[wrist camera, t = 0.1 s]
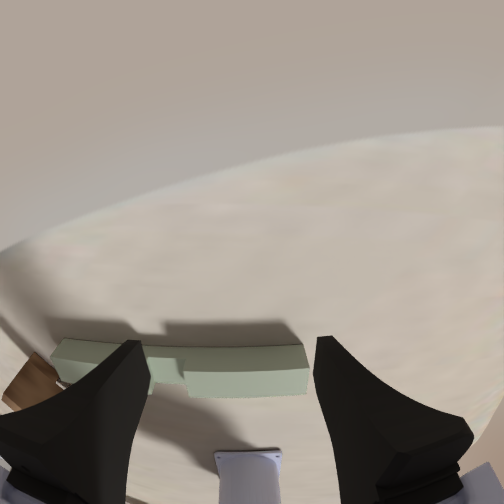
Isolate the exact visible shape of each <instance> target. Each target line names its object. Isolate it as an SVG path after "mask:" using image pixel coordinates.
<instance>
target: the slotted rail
mask: <svg viewBox="0 0 504 504" xmlns="http://www.w3.org/2000/svg"><path fill="white" fill-rule="evenodd" d="M121 345H122V344H115V343H103V342H93V341H83V340H75V339H67V338H64V339H63V340H62V342H61V343H60V344H59V345H58V347H57V348H56V349H55V351H54V352H53V353H52V355H51V356H50V358H51V360H52V362H53V364H54V367H55V369H56V371H57V373H58V375H59V377H60V379H61V381H63V382H67V383H72V384H74V383H76V382H77V381H78V380H80V379H81V378H82V377H84V376H85V375H86V374H87V373H89V372H90V371H91V370H93V369H94V368H95V367H96V366H98V365H99V364H100V363H101V362H102V361H103V360H105V359H106V358H107V357H108V356H109V355H110V354H111V353H113V352H114V351H115V350H116V349H117V348H118V347H119V346H121ZM142 347H143V351H144V354H145V358H146V361H147V364H148V368H149V371H150V374H151V380H150V386H149V391H148V394H149V395H152V392H153V389H154V386H155V383H166V384H185V385H186V387H187V391H188V395H189V397H195V398H258V397H278V396H293V395H304V394H306V391H307V384H308V377H309V370H310V367H309V364H308V360H307V356H306V353H305V349H304V345H303V344H300V345H283V346H262V347H165V346H144V345H142Z"/></svg>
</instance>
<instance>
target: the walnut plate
mask: <svg viewBox="0 0 504 504" xmlns="http://www.w3.org/2000/svg"><path fill="white" fill-rule="evenodd" d="M58 378H59V375H58V373H57V371H56V370H55V369H54V368H52V367H51V366H50V365H49V364H48V363H47V362H45V361H44V360H43V359H42V358H41V357H40V356H39V355H37V354H36V353H35V352H34V353H33V354H32V356H31V357H30V358H29V360H28V361H27V362H26V363H25V365H24V366H23V367H22V369H21V370H20V371H19V372H18V374H17V375H16V376H15V378H14V379H13V381H12V382H11V383H10V385H9V386H8V387H7V389H6V390H5V392H4V393H3V396H2V401H3V402H4V403H5V404H7V405H8V406H9V407H10V408H11V409H12V410H14V411H19V410H22V409H25V408H28V407H30V406H33V405H35V404H38V403H40V402H42V401H44V400H46V399H48V398H50V397H52V396H54V395H56V394H58V393H60V392H62V391H63V389H62V388H61V387H59V386H58V385H57V384H56V381H57V380H58Z"/></svg>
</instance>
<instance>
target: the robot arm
mask: <svg viewBox="0 0 504 504" xmlns="http://www.w3.org/2000/svg"><path fill="white" fill-rule="evenodd" d="M313 377H314V383H315V388H316V393H317V397H318V400H319V403H320V406H321V409H322V413H323V416H324V419H325V422H326V425H327V428H328V431H329V434H330V438H331V442H332V446H333V451H334V457H335V462H336V469H337V475H338V482H339V490H340V499H341V504H504V489H503V487H502V485H501V483H500V482H499V480H498V478H497V476H496V474H495V472H494V470H493V468H492V467H491V465H490V463H489V462H486V463H484V464H482V465H480V466H479V467H477V468H475V469H473V470H471V471H470V472H468V473H466V474H465V475H463V476H462V477H460V478H459V476H458V473H457V472H458V471H459V470H460V467H459V465H458V463H457V461H459V459H460V458H461V457H462V456H463V455H464V454H465V452H466V451H467V450H468V449H469V447H470V446H471V444H472V442H473V440H474V434H473V433H472V431H471V429H470V428H469V426H468V424H467V423H466V421H465V420H464V418H463V417H459V416H455V415H452V414H448V413H445V412H441V411H438V410H436V409H433V408H431V407H428V406H426V405H423V404H421V403H419V402H417V401H415V400H413V399H411V398H409V397H407V396H405V395H403V394H401V393H400V392H398V391H396V390H395V389H393V388H392V387H390V386H389V385H387V384H386V383H384V382H383V381H381V380H380V379H379V378H377V377H376V376H375V375H374V374H372V373H371V372H370V371H369V370H367V369H366V368H365V367H364V366H363V365H362V364H361V363H360V362H358V361H357V360H356V359H355V358H354V357H353V356H352V355H351V354H350V353H349V352H348V351H347V350H346V349H345V348H344V347H343V346H342V345H341V344H340V343H339V342H338V341H337V340H336V339H335V338H334V337H333V336H322V337H317V344H316V353H315V361H314V369H313ZM150 380H151V374H150V371H149V368H148V364H147V361H146V358H145V354H144V351H143V347H142V344H141V341H139V340H127V341H126V342H124V343H123V344H122V345H121V346H119V347H118V348H117V349H116V350H115V351H114V352H113V353H111V354H110V355H109V356H108V357H107V358H106V359H105V360H103V361H102V362H101V363H100V364H99V365H98V366H96V367H95V368H94V369H93V370H91V371H90V372H89V373H87V374H86V375H85V376H84V377H82V378H81V379H80V380H78V381H77V382H76V383H74V384H73V385H71V386H70V387H68V388H66V389H65V390H63V391H62V392H60V393H58V394H56V395H54V396H52V397H50V398H48V399H46V400H44V401H42V402H40V403H38V404H35V405H33V406H30V407H28V408H25V409H22V410H19V411H15V412H12V413H8V414H4V415H0V455H1V457H2V458H3V459H4V460H5V461H6V462H7V463H8V464H9V465H10V466H11V467H12V469H11V471H10V472H9V471H8V470H6V469H5V468H3V467H2V466H0V504H125V496H126V482H127V473H128V465H129V459H130V453H131V447H132V443H133V439H134V435H135V432H136V429H137V426H138V423H139V420H140V417H141V414H142V411H143V408H144V405H145V402H146V399H147V396H148V391H149V386H150ZM214 457H215V461H216V465H217V469H218V473H219V476H220V485H219V504H281V497H280V487H279V475H280V467H281V459H282V451H280V450H275V451H254V452H215V453H214Z"/></svg>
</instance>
